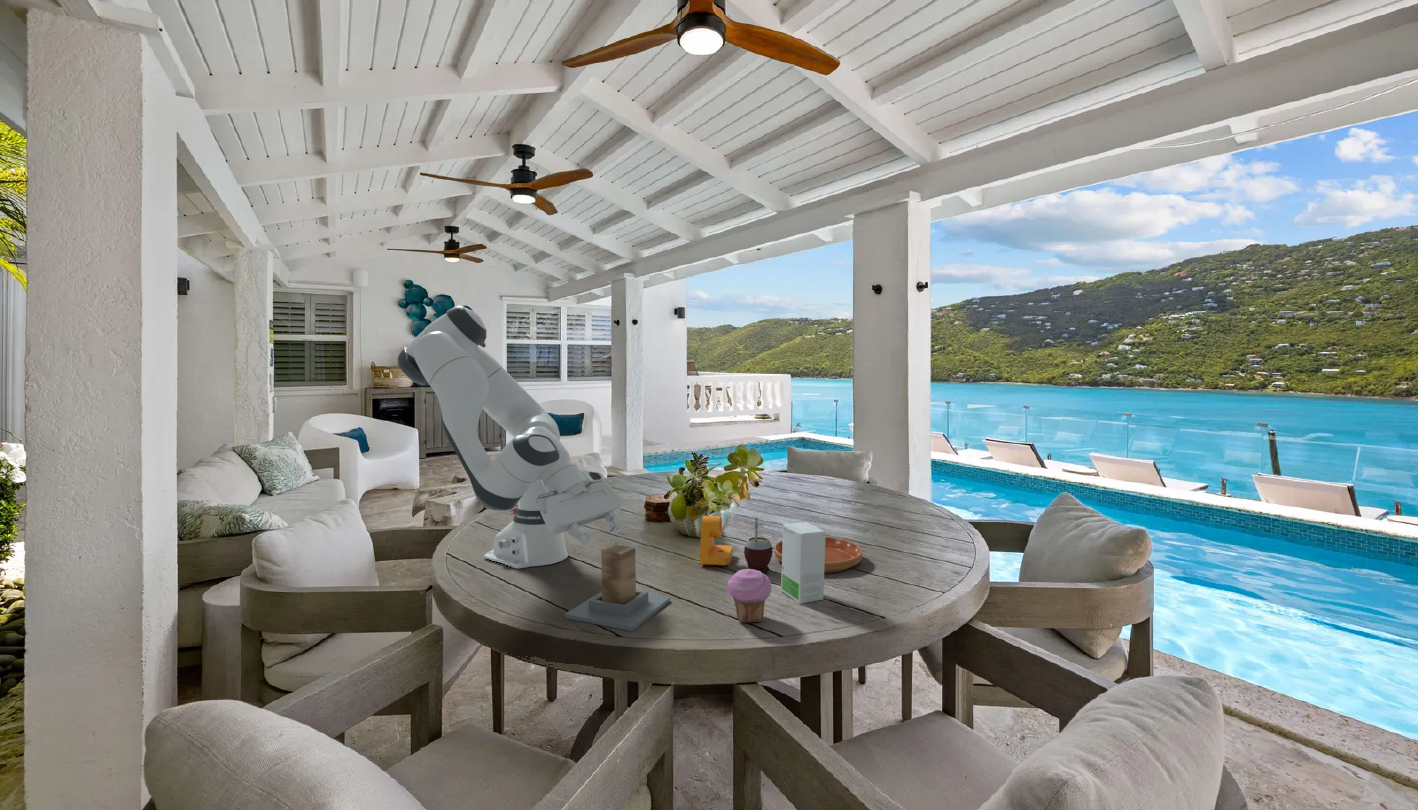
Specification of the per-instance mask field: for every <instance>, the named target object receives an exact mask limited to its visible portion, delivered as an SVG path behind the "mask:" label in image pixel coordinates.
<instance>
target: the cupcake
mask: <svg viewBox="0 0 1418 810" xmlns="http://www.w3.org/2000/svg"><path fill="white" fill-rule="evenodd" d="M727 592H728V594H729V596H731V597H732V598H733V601H734V606H735V610H736V611H735V613H736V617H737V620H738V621H739V622H740V623H760V622H763V619H764V614H765V612H764V611H765V604H766V600H767V599H768V598H769V597H770V595H771V593H772V583H771V579H769V576H767V575H765V574H763V573H762V572H760V571H757V570H753V569H748V568H743V569H740V570H737V571H736V572H735V573H734V574H733V575H732V576H731V577H730V578H729V580H728V581H727Z"/></svg>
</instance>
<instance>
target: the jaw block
mask: <svg viewBox="0 0 1418 810" xmlns="http://www.w3.org/2000/svg"><path fill="white" fill-rule="evenodd" d="M636 574H637V573H636V547H633V546H629V545H628V546H627V545H623V544H622V545H621V544H614V545H612V546H610V547H607V548H605V549H603V550H601V587H602V588H601V591H602V601H606V602H611V603H617V604H623V605H625V604H626V603H628V602H629V601H631V600H632V599H634V598H635V597H636V590H637V587H636V585H637V581H636V580H637V579H636V577H637V576H636Z"/></svg>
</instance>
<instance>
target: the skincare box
mask: <svg viewBox="0 0 1418 810" xmlns="http://www.w3.org/2000/svg"><path fill="white" fill-rule="evenodd" d="M826 534H827V532H826V530H823V529H822V528H819V527H818V526H817V525H814V524H811V523H809V522H807V521H801V522H800V521H798V522H792V523H784V524H783V523H782V540H783V541H782V540H781V541H782V562H781V575H780V576H781V580H780V582H781V583H780V585H781V586H780V591H781V592H782V593H783V594H786V596H787V597H789V598H791V599H792V600H794V601H795V602H796V603H797V604H799V605H802V604H807V603H812V602H818V601H822V600H824V592H825V591H824V586H825V585H824V584H825V583H824V582H825V572H824V563H825V537H827V535H826Z"/></svg>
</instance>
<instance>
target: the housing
mask: <svg viewBox="0 0 1418 810" xmlns="http://www.w3.org/2000/svg"><path fill="white" fill-rule="evenodd" d="M670 602H671V597H670V596H664V595H657V594H650V593H649V591H646V590H641V589H640V590H638V589H636V597H635V598H634V599H632V600H631V601H629V602H628V603H626V604H625V605H623V604H617V603H611V602H606V601H602V590H601V591H600V592H598V593H596V594H595V595H593V596H592V597H589V598H588V599H587V600H585V601H584V602H582V603H580V604H578V605H576V606H575V607H574V608H572V609H570V610H569V611H567V612H565V613H564V619H568V620H573V621H579V622H584V623H589V624H593V625H599V626H603V627H604V626H605V627H609V628H613V629H620V630H624V631H629V632H634V630H636V629H637V628H638V627H640V626H641V625H642V624H644V623H645V622H646V621H647V620H649V619H650V618H651V617H652V616H653V615H654V614H656V613H657V612H659V611H660V610H661V609H662V608H663V607H665V606H666V605H667V604H669V603H670Z"/></svg>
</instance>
